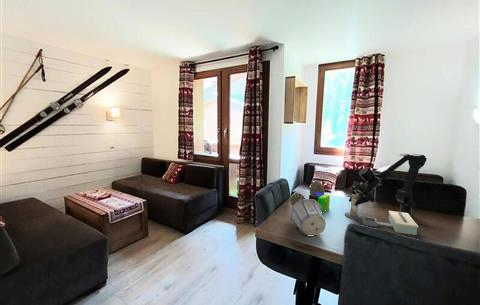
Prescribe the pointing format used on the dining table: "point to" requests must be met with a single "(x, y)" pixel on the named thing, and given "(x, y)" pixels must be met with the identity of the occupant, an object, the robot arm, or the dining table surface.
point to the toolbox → (395, 222)
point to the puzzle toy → (321, 200)
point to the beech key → (354, 207)
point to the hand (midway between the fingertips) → (352, 203)
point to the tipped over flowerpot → (307, 215)
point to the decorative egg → (316, 188)
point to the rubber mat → (353, 216)
